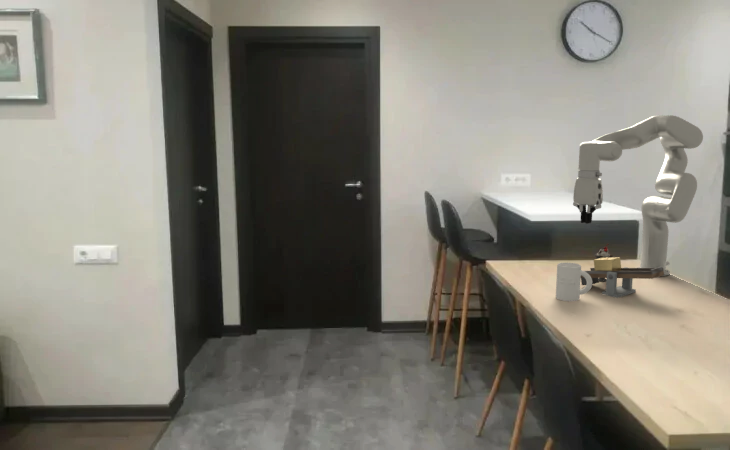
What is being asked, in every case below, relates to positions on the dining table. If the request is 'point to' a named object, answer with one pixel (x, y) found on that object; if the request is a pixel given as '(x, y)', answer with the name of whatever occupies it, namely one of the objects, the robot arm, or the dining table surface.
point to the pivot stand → (617, 291)
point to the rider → (607, 264)
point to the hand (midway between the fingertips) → (586, 222)
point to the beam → (625, 274)
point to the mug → (571, 282)
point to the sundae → (603, 254)
